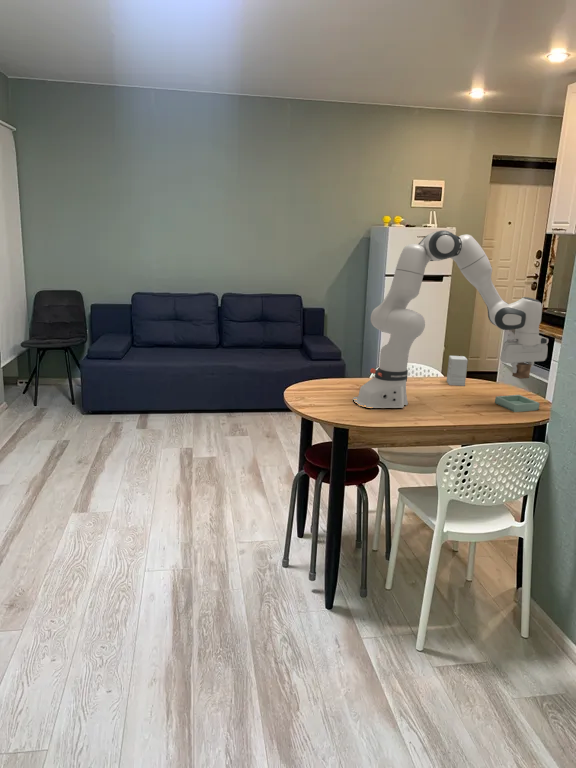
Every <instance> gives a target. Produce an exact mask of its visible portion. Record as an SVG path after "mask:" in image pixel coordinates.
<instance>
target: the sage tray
mask: <svg viewBox="0 0 576 768" xmlns="http://www.w3.org/2000/svg"><path fill="white" fill-rule="evenodd" d="M495 403H496V404H495ZM494 404H495V405H497V404H498V406H499V405H500V407H502V408H504V409H506V410H507V411H508V410H509V411H511V412H513V413H520V412H522V413H523V412H531V411H532V412H533V411H539V410H540V404H541V403H540V402H539V401H536V400H533V399H531V398H528V397H526V396H524V395H521V394H513V395H512V394H511V395H499V396H498V395H496V396H495V399H494Z"/></svg>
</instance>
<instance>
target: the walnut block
mask: <svg viewBox="0 0 576 768" xmlns="http://www.w3.org/2000/svg"><path fill="white" fill-rule="evenodd" d="M516 366H517V369H519V371H518V373H513V372H512V377H515V378H517V379H519V380H520V379H521V380H523V379H529V378H530V374H531V371H530V368H531V365H530V364H529V363H528V362H518V364H517V365H516ZM531 369H532V368H531Z"/></svg>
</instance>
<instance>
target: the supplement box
mask: <svg viewBox="0 0 576 768" xmlns="http://www.w3.org/2000/svg"><path fill="white" fill-rule="evenodd" d="M468 362H469V359H468V358H467V357H466V356H463V355H460V356H459V355H448V363H447V365H448V366H447V374H446V383H447V384H448V385H449V386H458V387H459V386H462V387H465V386H466V380H467V379H466V378H467V368H468Z"/></svg>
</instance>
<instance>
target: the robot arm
mask: <svg viewBox="0 0 576 768" xmlns="http://www.w3.org/2000/svg"><path fill="white" fill-rule="evenodd" d="M447 259H451V260H453V261H454V262H455V264H456V266H457V267H458V269H459V271H460V273H461V274H462V275H463V277H464V278H465V279H466V280H467V281H468V282H469V283H470V284H471V286H473V287H474V288H475V289H476V290H477V292H478V293H479V295H480V297H481V298H482V300H483V302H484V304H485V305H486V309H487V317H488V320H489V322H490V323H491V324H492V325H494V326H496V327H497V328H499V329H500V330H503V331H511V330H514V331H515V332H514V339H507V340H506V341H504V342H503V346H502V349H501V353H500V358H499V359H500V361H501V362H502V363H505V364H510V365H511V367H512V374H513V373H518V371H519V369H517V366H516V365H517V364H518V363H519V362H524V363H527V364H530V365H531V368H530V372H532V371H531V369H532V368H533V366H534V365H535V362H544V361H546V360H547V358H548V343H549V338H548V337H544V336H542V335H540V324H541V322H542V316H543V315H542V314H543V304H542V303H541V301H540V300H538V299H535V298H532V297H527V296H523V297H521V298H520V299H518V300H517V301H514V302H511V303H508V302H506V300H504V299H502V297H501V296H500V294H499V292H498V290H497V289H496V287H495V285H494V282H493V280H492V273H493V267H492V264H491V262H490V260H489V257H488V256H487V254H486V252H485V251H484V249H483V248H482V246H481V244H480V243H479V242H478V241H477V240H476V239H475V237H473V235H471V234H467V233H466V234H461V235H459V236H458V235H457V234H454V233H453V232H450V231H448V230H438V231H437V230H436V231H433V232H431V233H429V234H427V235H425V236H424V237H423V238H422V240H421V241H420V242H418V243H409V244H406V245H404V247H403V249H402V251H401V253H400V256H399V258H398V261H397V264H396V267H395V270H394V275H393V278H392V282H391V285H390V289H389V290H388V292H387V294H386V296H385V298H384V299H383V300H382V302H381V303H380V304H379V305H378V306H376V307H375V308H373V310H372V311H371V314H370V323H371V325H372V326H373V328H375V329H377V330H378V331H380V332H383V333H385V334H386V333H387V334H390V335H389V336H390V337H389V340H388V342H387V344H385V345H384V346H382V347H381V349H380V353H379V354H380V355H379V364H378V365H379V366H378V368H377V369H375V368H373V367H372V368H371V369H370V370H369V371H370V373H371V374H373V375H374V377H372V378H371V379H370V380H368V381H367V382H365V383H364V384H363V385H361V386H360V388H359V393H358V396H354V397H352V401H353V400H354V399H357V400H354V401H355V402H357V403H358V404H360V405H363V406H364V405H366V407H373V408H403V407H404V408H405V406H404V405H406V406H408V404H409V403H408V396H407V381H408V373H409V370H408V361H409V353H410V350H411V347H412V345H413V343H414V341H416V339H417V338H419V336H422V334H423V333H424V330H425V328H426V320H425V317H424V316H423V315H422V314H421V313H419V312H417V311H415V310H413V309H410V308H407V307H408V305H409V303H410V302H411V301H412V300H414V299H416V298H417V297H418V295H419V294H420V292H421V291H420V290H421V286H422V282H423V278H424V274H425V269H426V267H427V265H428V263H429V262H439V261H443V260H447ZM404 408H403V409H404Z"/></svg>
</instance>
